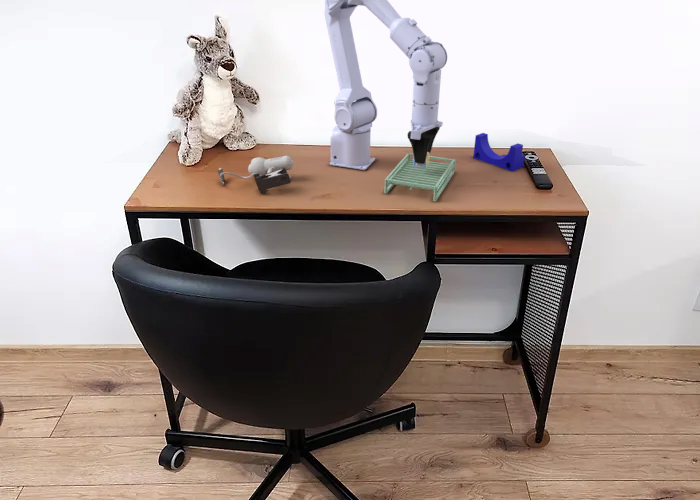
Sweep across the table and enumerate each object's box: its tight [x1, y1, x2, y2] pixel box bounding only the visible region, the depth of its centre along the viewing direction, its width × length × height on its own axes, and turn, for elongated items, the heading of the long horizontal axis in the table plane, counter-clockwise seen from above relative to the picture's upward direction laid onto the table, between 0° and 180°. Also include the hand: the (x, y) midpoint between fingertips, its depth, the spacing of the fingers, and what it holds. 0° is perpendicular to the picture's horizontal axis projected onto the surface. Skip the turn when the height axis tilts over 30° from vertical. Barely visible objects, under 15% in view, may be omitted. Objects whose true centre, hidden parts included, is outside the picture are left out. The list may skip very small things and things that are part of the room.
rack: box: [383, 152, 456, 203], centre depth 147 cm, size 18×12×4 cm, turn 159°
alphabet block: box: [412, 152, 431, 169], centre depth 145 cm, size 3×3×3 cm
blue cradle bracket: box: [473, 132, 526, 172], centre depth 158 cm, size 12×4×6 cm, turn 42°
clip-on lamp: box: [217, 155, 294, 195], centre depth 145 cm, size 12×6×18 cm
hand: (421, 160), depth 145 cm, fingers closed on alphabet block, 3 cm apart
